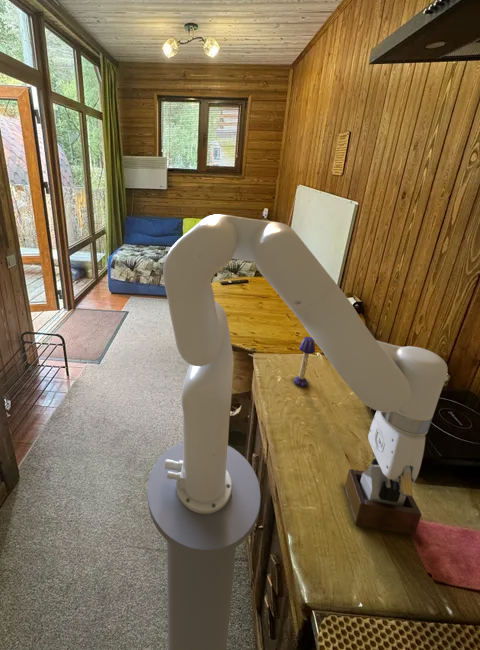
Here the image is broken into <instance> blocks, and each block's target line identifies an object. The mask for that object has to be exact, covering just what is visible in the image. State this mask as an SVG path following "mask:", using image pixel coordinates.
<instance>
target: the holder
mask: <svg viewBox="0 0 480 650" xmlns="http://www.w3.org/2000/svg"><path fill="white" fill-rule="evenodd" d="M364 471H365V470H359V469H353V468H349V469H348V473H347V476H346V481H345V486H344V491H345V495H346V499H347V503H348V505H349V508H350V511H351V512H350V513H351V515H352V518H353V521H354V525H358V526H362V527H367V528H373V529H378V530H382V531H389V532H393V533H399V534H404V535H409V536H415V534H416V532H417V529H418V526H419V523H420V520H421V518H422V512H421V510H420V509H419V506H418V505H417V503H416V500H415V498H414V497H413V495H412V497H409V496H406V499H405V502H404V505H403V506H398V505H392V504H386V503H381V502H375V501H370V500H364V497H363V494H362V491H361V489H360V486H359V484H360V480H361V477H362V473H363V472H364Z"/></svg>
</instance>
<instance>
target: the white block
mask: <svg viewBox="0 0 480 650" xmlns="http://www.w3.org/2000/svg"><path fill="white" fill-rule="evenodd" d="M363 471H364V472H363V473H362V477H361V480H360V484H359V486H360V489H361V491H362V494H363V497H364V500H370V501H375V502H381V503H386V504H392V505H398V506H403V505H404V502H405V499H406V496H404V495H402V494H400V497H399V500H398V502H390V501H386V500H381V499H380V497H379V493H380V490H381V486H382V483H383V482H384V481H385V482H386V476H385V475H384V474H383V472H382V470H381V468H380V466H379V465H371V464H370V465H369V467H367V468H366V469H365V470H363ZM392 481H396V482H399V478H396V479H395V480H392Z"/></svg>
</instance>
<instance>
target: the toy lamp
mask: <svg viewBox="0 0 480 650" xmlns="http://www.w3.org/2000/svg"><path fill="white" fill-rule="evenodd" d="M315 344H316V343H315V341H314V340H313V339H312V337H311V336H305V337H303V340H302V341H301V343H300V345H299V350H300V351H301V352H302V353H303V354H302V358H301V363H300V368H299V369H300V370H299V374H298V376H295V378H294V379H293V383H294V384H295V385H296V386H298V387H302V388H306V387H307V386H308V381H307V379H306V378H305V375H306V371H307V366H308V362H309V357H310V356H309V355H312V354H314V353H315V352H316V346H315Z"/></svg>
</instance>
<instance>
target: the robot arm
mask: <svg viewBox="0 0 480 650" xmlns="http://www.w3.org/2000/svg"><path fill="white" fill-rule="evenodd" d="M232 260H239V261H243V262H244V261H246V262H251V263H254V264H255V267H256V269H257V270H258V272H259V273H260V274H261V276H262V277H263V278H264V279H265V280H266V282H267V283H268V284H269V285H270V287H271V288H272V289H273V290H274V291H275V292H276V294H277V295H278V296H279V297H280V298H281V300H282V301H283V303H285V305H286V306H287V307H288V308H289V309H290V311H291V312H292V313H293V315H294V316H295V317H296V318H297V319H298V321H299V322H300V323H301V324H302V326H303V328H304V329H305V331H306V332H307V333H308V335H309V337H311V338H312V339H313V340H314V344H316V345H317V346H318V348H319V349H320V350H321V352H322V353H323V354H324V355H325V357H326V359H327V360H328V361H329V363H330V364H331V365H332V367H333V368H334V370H335V371H336V372H337V374H338V375H339V376H340V378H341V379H342V380H343V382H345V384H346V385H347V386H348V387H349V389H350V390H351V391H352V392H353V393H354V394H355V396H356V397H357V398H358V399H359V401H360V402H361V403H363V404H364V405H365V406H367V408H370V409H371V410H374V411H376V412H375V414H374V416H373V419H372V422H371V424H370V428H369V431H368V435H367V438H368V444H369V445H370V448H371V450H372V452H373V453H372V456H373V458H372V461H371V464H370V465H379V466H380V468H381V470H382V472H383V474H384V475H385V476H386V482H385V481H384V482H383V483H382V486H381V490H380V493H379V497H380V499H381V500H386V501H390V502H398V500H399V497H400V494H402V495H404V496H409V497H412V496H413V484H414V483H415V482H416V480H417V478H418V476H419V473H420V470H421V466H422V461H423V458H424V452H425V446H426V435H427V434H428V432H429V429H430V427H431V424H432V420H433V418H434V414H435V411H436V408H437V405H438V402H439V400H440V396H441V393H442V391H443V388H444V384H445V381H446V378H447V375H448V371H449V370H448V365H447V363H446V361H445V360H444V359H443V358H442V357H441V356H440V355H438V354H437V353H435V352H433V351H431V350H428V349H426V348H423V347H419V346H412V345H411V346H409V345H408V346H400V345H395V344H392V343H388V342H384V341H380V340H377V339H376V338H375V337H374V335H373V334H372V333H371V331H370V330H369V328H368V327H367V326H366V325H365V323H364V321H363V320H362V318H361V317H360V315H359V313H358V312H357V310H356V308H355V307H354V306H353V304H352V302H351V301H350V300H349V298H348V297H347V296H346V294H345V293H344V291H343V290H342V289H341V288H340V286H339V285H338V284H337V282H336V281H335V280H334V279H333V278H332V277H331V275H330V273H328V271H327V270H326V269H325V268H324V266H322V264H321V263H320V262H319V260H318V258H316V256H315V255H314V254H313V253H312V251H311V250H310V249H309V247H308V246H307V245H306V244H305V242H304V241H303V240H302V238H300V236H299V235H298V234H297V233H296V231H295V230H294V229H293V228H292V227H291V226H290V225H289V224H286V223H283V222H278V221H271V220H265V219H264V220H262V219H255V218H248V217H241V216H236V215H235V216H234V215H228V214H212V215H207V216H206V217H204V218H202V219H200V221H199V222H198V223H196V224H195V225H193V227H192V228H191V229H190V230H188V231H187V232H186V233H185V234H184V235H182V236H181V237H180V238H179V239H178V240H177V241H176V242H175V243H174V244H173V245H172V246H171V247H170V248H169V250H168V252H167V254H166V256H165V258H164V261H163V266H162V279H163V285H164V289H165V294H166V298H167V304H168V308H169V315H170V320H171V325H172V329H173V335H174V340H175V345H176V348H177V352H178V353H179V355H180V356H181V358H182V359H183V360H184V361H185V362H186V363H187V364H188V365H189V366H188V368H187V370H186V374H185V378H184V380H183V385H182V389H181V407H182V417H183V418H182V419H183V420H182V421H183V423H182V425H183V426H182V427H183V428H182V432H183V435H182V436H183V438H182V439H183V441H182V442H183V461H182V460H180V461H179V462H177V461H174V460H169V459H166V461H165V469H170V470H177V471H178V473H174V472H170V471H168V474H167V478H168V479H175V480H176V490H177V494H178V497H179V499H180V500H181V502H182V503H183V504H184V505H185V506H186V507H187V508H188V509H190V510H191V511H194V512H196V513H201V514H210V513H214V512H216V511H219V510H220V509H221V508H223V507H224V506H225V505H226V504H227V502H228V500H229V499H230V496H231V490H232V482H231V477H230V475H229V473H228V471H227V470H226V463H227V449H228V446H229V433H230V432H229V429H230V417H231V416H230V415H231V406H232V394H233V382H234V363H235V361H234V360H235V359H234V351H233V346H232V339H231V333H230V328H229V327H230V326H229V321H228V316H227V313H226V311H225V309H224V308H223V306H222V305H221V304H220V303H219V302H218V301H217V300H215V294H214V289H213V285H212V279H213V278H214V276H215V274H216V275H217V273H218V272H220V271H221V270H222V269H224V268H225V267H226V266H228V265H229V263H230V262H231V261H232ZM396 478H399V482H396V481H392V480H395V479H396ZM213 507H214V508H213Z"/></svg>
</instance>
